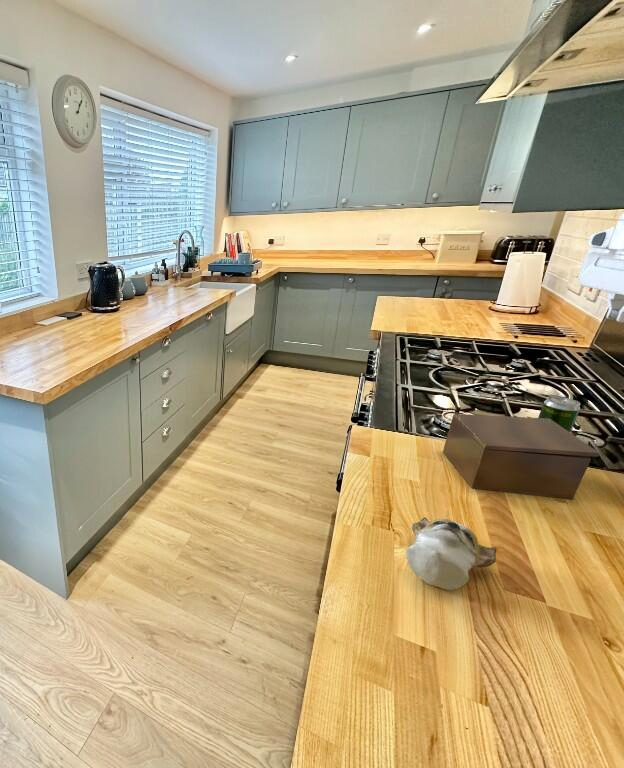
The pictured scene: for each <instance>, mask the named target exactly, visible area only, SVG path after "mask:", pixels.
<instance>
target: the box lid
mask: <svg viewBox="0 0 624 768" xmlns="http://www.w3.org/2000/svg"><path fill="white" fill-rule="evenodd" d="M452 418H454V419H455V420H456V421H457V422H458V423H459V424H460V425H461V426H462V427H463V428H464V429H465V430H466V431H467V432H468V433H469V434H470V435H471V436H472V437H473V438H474V439H475V440H476V441H477V442H478V443H479V444H480V445H481V446H482V447H483V448H484V449H493V450H507V451H522V452H536V453H550V454H565V455H579V456H588V457H596V458H598V457H599V456H600V452H599V451H598V450H596V449H595V448H593V447H591V446H590V445H589V444H587V443H586V442H584V441H583V440H582V439H580V438H579V437H577V436H576V435H575V434H573V433H570V432H568V431H567V430H566V429H564V428H563V427H561V426H560V425H558V424H557V423H555V422H554V421H552V420H551V419H548V418H538V417H528V416H527V417H526V416H525V417H524V416H506V415H505V416H504V415H489V414H488V415H486V414H485V415H484V414H469V413H468V414H465V413H453V415H452Z"/></svg>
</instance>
